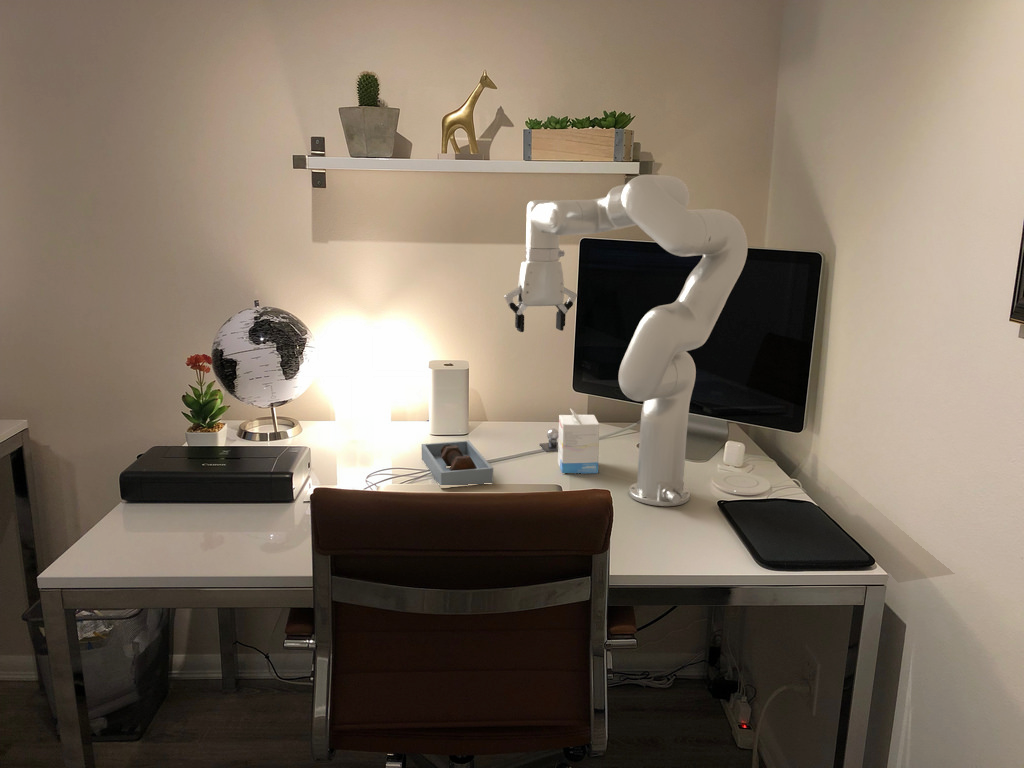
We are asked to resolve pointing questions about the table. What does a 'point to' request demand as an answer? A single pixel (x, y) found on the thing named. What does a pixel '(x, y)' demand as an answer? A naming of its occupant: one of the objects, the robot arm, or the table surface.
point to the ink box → (578, 443)
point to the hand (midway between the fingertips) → (540, 330)
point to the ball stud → (551, 441)
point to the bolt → (456, 458)
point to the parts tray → (457, 477)
